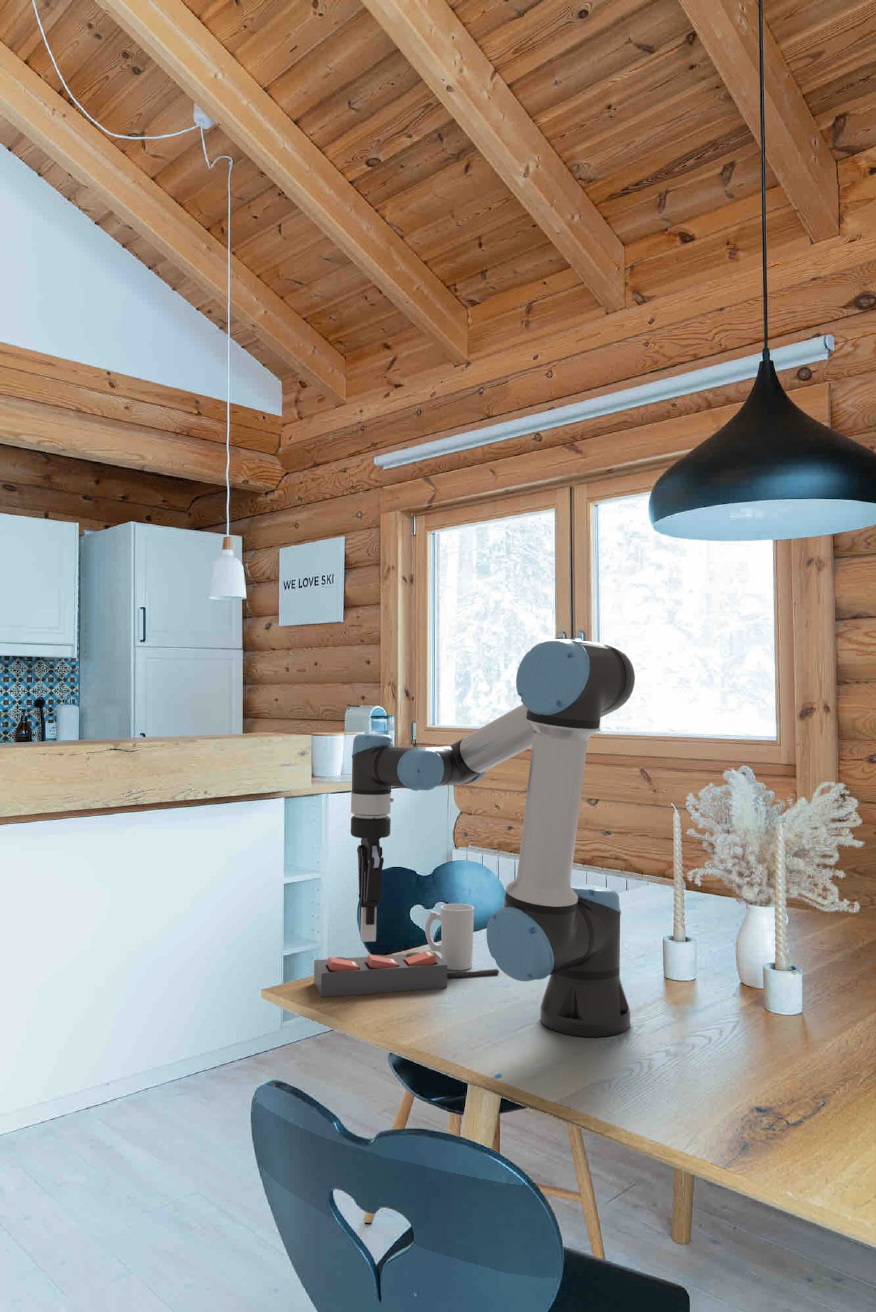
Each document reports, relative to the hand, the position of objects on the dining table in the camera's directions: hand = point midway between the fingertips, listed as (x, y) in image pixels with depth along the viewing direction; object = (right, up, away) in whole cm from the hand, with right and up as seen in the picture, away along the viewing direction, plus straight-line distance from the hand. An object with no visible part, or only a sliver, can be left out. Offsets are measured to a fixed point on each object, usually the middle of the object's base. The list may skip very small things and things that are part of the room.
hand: (368, 940), depth 180 cm
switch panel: (+8, -9, +3) cm, 13 cm away
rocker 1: (-5, -4, -2) cm, 6 cm away
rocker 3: (+10, -5, +2) cm, 11 cm away
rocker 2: (+3, -4, 0) cm, 5 cm away
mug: (+16, -10, +15) cm, 24 cm away
